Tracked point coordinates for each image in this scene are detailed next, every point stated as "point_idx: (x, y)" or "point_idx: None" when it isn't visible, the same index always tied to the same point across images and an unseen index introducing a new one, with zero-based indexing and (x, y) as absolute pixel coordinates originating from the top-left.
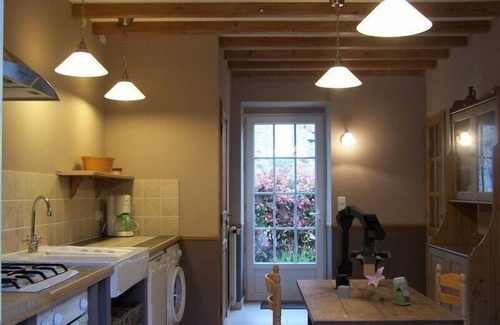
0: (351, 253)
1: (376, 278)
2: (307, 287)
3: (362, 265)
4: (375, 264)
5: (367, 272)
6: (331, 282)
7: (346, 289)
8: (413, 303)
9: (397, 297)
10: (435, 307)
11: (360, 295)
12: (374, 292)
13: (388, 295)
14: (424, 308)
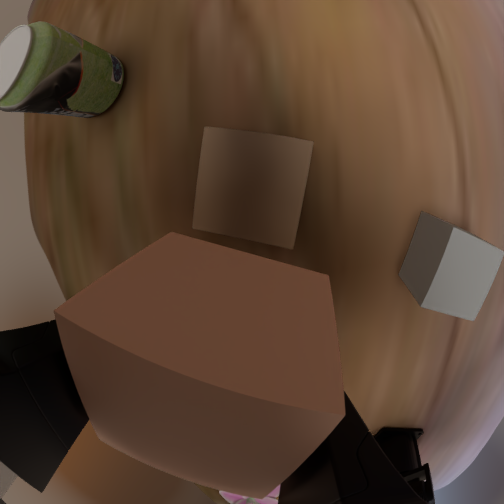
0: None
1: (253, 500)
2: (491, 420)
3: (356, 439)
4: (44, 353)
5: (262, 283)
6: None
7: (453, 226)
8: (70, 139)
9: (100, 49)
10: None
11: (338, 322)
12: (228, 140)
13: None
14: None
